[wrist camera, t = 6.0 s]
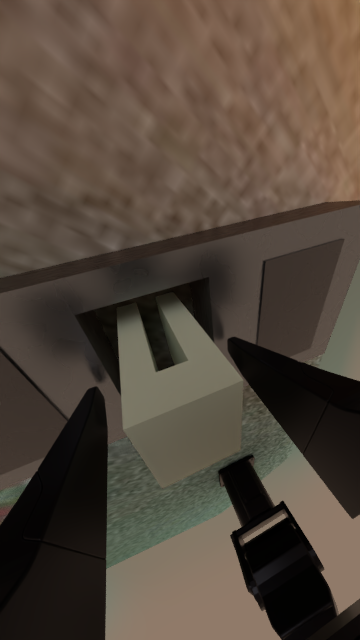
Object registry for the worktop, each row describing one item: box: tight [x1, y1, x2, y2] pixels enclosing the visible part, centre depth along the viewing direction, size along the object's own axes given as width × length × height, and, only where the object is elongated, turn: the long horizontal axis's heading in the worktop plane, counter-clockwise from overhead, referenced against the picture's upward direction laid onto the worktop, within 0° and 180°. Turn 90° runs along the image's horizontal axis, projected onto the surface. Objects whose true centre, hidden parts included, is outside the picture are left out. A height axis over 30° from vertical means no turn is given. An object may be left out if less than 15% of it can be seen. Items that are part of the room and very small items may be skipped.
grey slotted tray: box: [0, 200, 360, 490], centre depth 11 cm, size 11×26×3 cm, turn 100°
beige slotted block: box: [117, 292, 244, 489], centre depth 9 cm, size 5×4×8 cm
